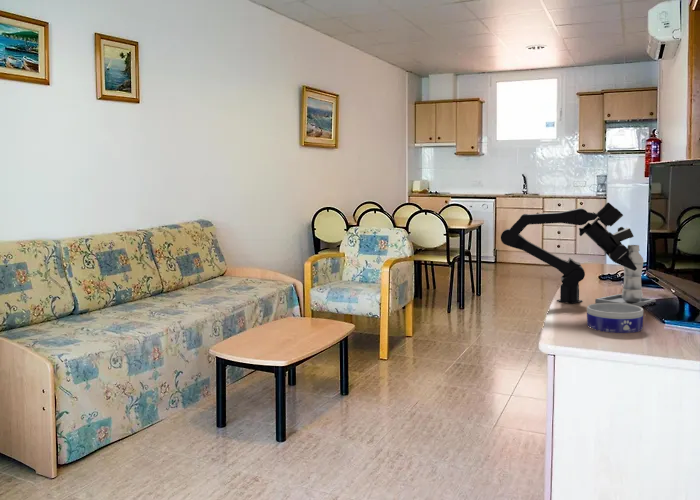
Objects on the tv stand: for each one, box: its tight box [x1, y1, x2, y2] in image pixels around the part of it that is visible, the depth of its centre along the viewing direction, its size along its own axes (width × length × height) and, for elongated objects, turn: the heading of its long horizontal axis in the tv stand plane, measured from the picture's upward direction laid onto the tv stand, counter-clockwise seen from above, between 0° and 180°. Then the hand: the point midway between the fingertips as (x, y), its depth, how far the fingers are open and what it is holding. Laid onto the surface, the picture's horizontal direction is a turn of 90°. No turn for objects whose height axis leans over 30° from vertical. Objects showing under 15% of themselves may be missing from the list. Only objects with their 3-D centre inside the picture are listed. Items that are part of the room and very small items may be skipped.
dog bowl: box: [586, 303, 644, 334], centre depth 180 cm, size 15×15×6 cm
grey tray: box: [594, 293, 657, 308], centre depth 213 cm, size 14×14×2 cm
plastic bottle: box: [621, 244, 645, 303], centre depth 211 cm, size 6×7×20 cm
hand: (634, 267), depth 211 cm, fingers open, 9 cm apart
